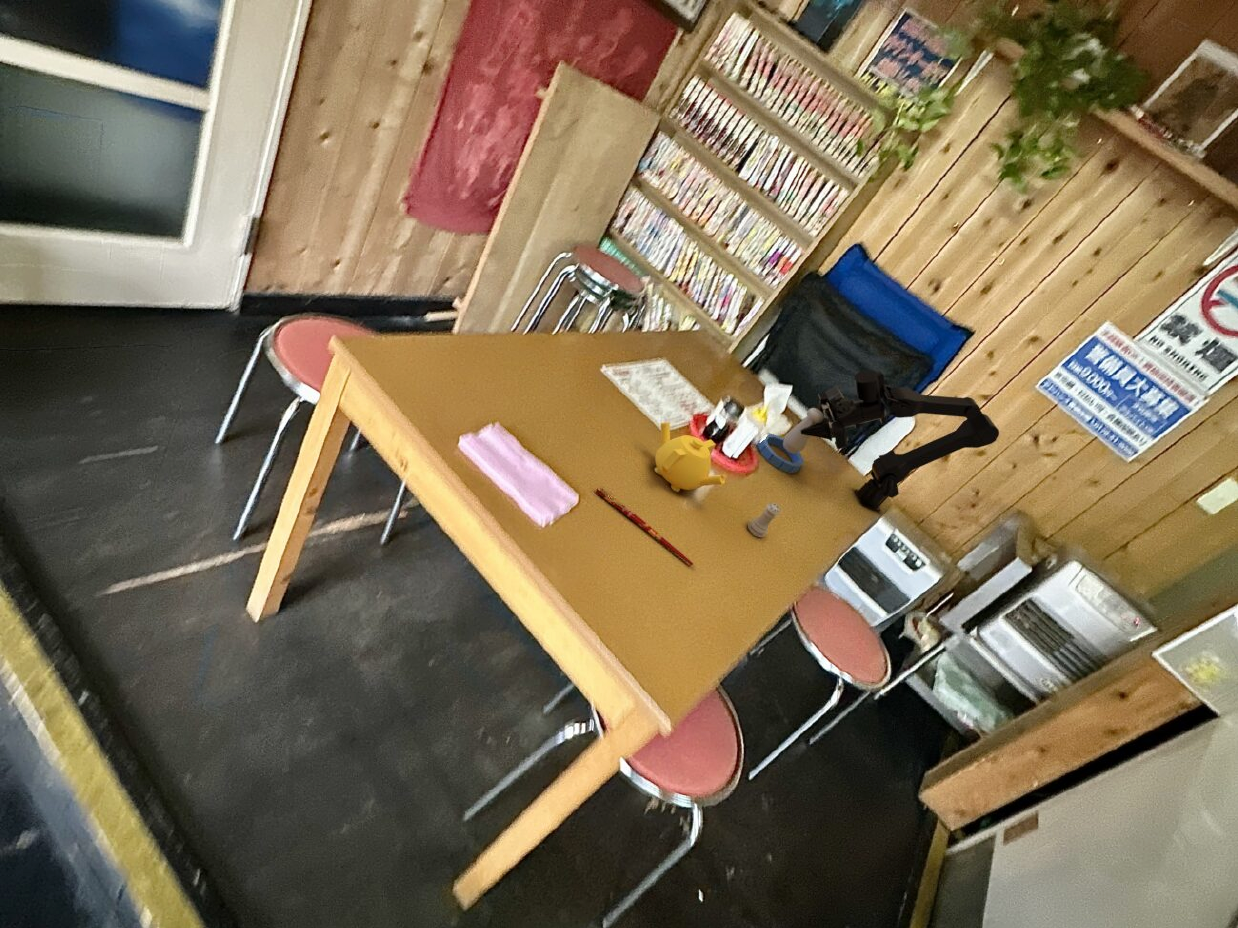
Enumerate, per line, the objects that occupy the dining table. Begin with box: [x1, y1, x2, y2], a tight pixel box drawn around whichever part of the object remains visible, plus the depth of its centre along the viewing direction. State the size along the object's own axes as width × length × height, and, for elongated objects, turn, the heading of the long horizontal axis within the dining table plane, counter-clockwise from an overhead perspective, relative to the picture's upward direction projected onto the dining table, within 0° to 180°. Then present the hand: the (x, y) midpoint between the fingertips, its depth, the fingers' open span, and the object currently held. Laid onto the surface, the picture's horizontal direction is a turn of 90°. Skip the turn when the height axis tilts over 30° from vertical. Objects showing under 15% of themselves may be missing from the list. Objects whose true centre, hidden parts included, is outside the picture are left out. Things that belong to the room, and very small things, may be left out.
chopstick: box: [595, 488, 694, 566], centre depth 148 cm, size 2×24×1 cm, turn 61°
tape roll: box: [757, 433, 804, 474], centre depth 202 cm, size 13×13×2 cm
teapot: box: [654, 422, 726, 493], centre depth 165 cm, size 20×18×11 cm
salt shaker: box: [783, 407, 824, 454], centre depth 194 cm, size 6×6×13 cm
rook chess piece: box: [747, 502, 781, 538], centre depth 166 cm, size 4×4×8 cm
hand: (799, 428), depth 194 cm, fingers closed on salt shaker, 3 cm apart
